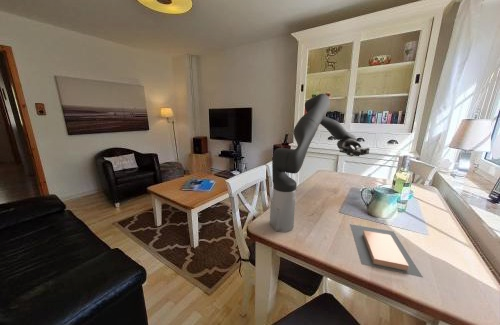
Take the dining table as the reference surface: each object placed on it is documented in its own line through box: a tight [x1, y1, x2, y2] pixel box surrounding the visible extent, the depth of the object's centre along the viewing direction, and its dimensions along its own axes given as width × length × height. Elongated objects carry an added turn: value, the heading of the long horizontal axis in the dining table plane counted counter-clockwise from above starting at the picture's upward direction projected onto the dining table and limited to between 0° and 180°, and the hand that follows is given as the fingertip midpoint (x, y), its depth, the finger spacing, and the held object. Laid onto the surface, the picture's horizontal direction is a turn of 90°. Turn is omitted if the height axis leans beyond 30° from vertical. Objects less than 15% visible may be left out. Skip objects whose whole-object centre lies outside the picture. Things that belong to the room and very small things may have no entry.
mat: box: [349, 224, 424, 278], centre depth 71 cm, size 24×16×1 cm, turn 162°
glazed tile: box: [363, 230, 409, 271], centre depth 68 cm, size 2×9×16 cm
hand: (357, 153), depth 83 cm, fingers closed
